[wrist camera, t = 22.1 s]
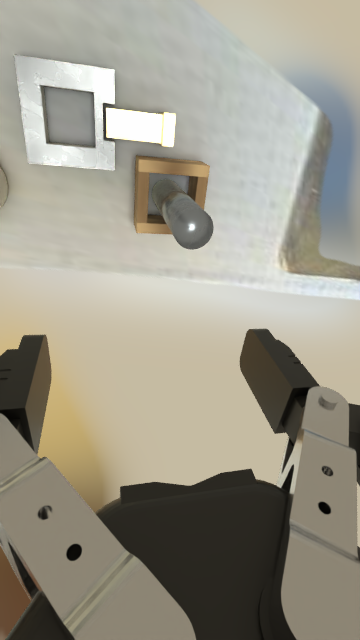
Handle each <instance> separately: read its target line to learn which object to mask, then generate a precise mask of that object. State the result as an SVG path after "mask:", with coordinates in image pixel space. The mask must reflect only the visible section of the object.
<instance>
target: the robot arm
mask: <svg viewBox="0 0 360 640" xmlns="http://www.w3.org/2000/svg"><path fill="white" fill-rule="evenodd" d="M240 368H241V372H242V374H243V375H244V377H245V379H246V381H247V383H248V385H249V387H250V388H251V390H252V392H253V394H254V396H255V398H256V399H257V401H258V403H259V405H260V407H261V409H262V411H263V413H264V414H265V416H266V418H267V420H268V422H269V424H270V426H271V428H272V429H273V431H274V433H275V434H276V433H285V432H286V433H287V434H288V436H289V437H288V439H287V442H286V446H285V450H284V455H283V459H282V464H281V468H280V473H279V477H278V481H277V485H274V484H271V483H268V482H265V481H261V480H256V479H255V476H254V474H253V472H252V469H246V470H239V471H232V472H224V473H220V474H218V475H216V476H213V477H211V478H209V479H206V480H204V481H202V482H200V483H197V484H195V485H192V486H185V485H176V484H168V483H160V482H151V483H144V484H136V485H129V486H122V487H120V498H119V499H116V500H114V501H112V502H111V503H109V504H107V505H105V506H104V507H102V508H101V509H99V510H98V511H97V512H96V513H94V512H93V511H92V509H91V508H90V507H89V506H88V505H87V503H86V502H85V501H84V500H83V499H82V498H81V496H80V495H79V494H78V493H77V491H76V490H75V489H74V488H73V487H72V485H71V484H70V483H69V482H68V481H67V480H66V478H65V477H64V476H63V475H62V474H61V472H60V471H59V470H58V469H57V468H56V466H55V465H54V464H53V463H52V462H51V461H50V460H49V459H48V458H47V457H43V458H42V459H41V458H39V457H38V456H37V453H38V447H39V443H40V437H41V432H42V427H43V421H44V416H45V411H46V405H47V400H48V395H49V390H50V384H51V363H50V356H49V349H48V342H47V337H46V335H24V336H23V337H22V340H21V343H20V345H19V348H18V349H12V350H7V351H6V352H4V353H3V354H2V355H1V356H0V546H1V547H2V549H3V551H4V553H5V554H6V556H7V558H8V560H9V562H10V564H11V566H12V568H13V570H14V572H15V574H16V576H17V577H18V579H19V581H20V583H21V584H22V586H23V588H24V589H25V591H26V593H27V595H28V596H29V598H30V600H31V603H30V604H29V605H28V607H27V608H26V610H25V612H24V613H23V614H22V616H21V617H20V619H19V620H18V622H17V623H16V625H15V626H14V627H13V629H12V630H11V632H10V633H9V635H8V636H7V638H6V639H5V640H360V548H359V547H358V546H357V482H358V484H359V485H360V405H355V404H348V403H347V401H346V400H345V398H344V397H343V396H342V395H340V394H339V393H338V392H336V391H334V390H332V389H329V388H326V387H321V386H319V384H318V383H317V382H316V381H315V379H314V378H313V377H312V376H311V374H310V373H309V372H308V371H307V369H306V368H305V367H304V365H303V364H301V362H300V360H299V359H298V358H297V357H295V354H294V353H293V352H292V350H291V349H290V348H289V347H288V346H286V345H285V344H284V343H282V342H281V341H279V340H276V339H275V338H274V337H273V335H272V334H271V333H270V332H269V330H268V329H249V330H248V331H247V333H246V337H245V341H244V345H243V349H242V352H241V356H240Z"/></svg>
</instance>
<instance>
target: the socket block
mask: <svg viewBox="0 0 360 640" xmlns="http://www.w3.org/2000/svg"><path fill="white" fill-rule="evenodd" d="M14 61H15V69H16V76H17V84H18V91H19V99H20V106H21V114H22V121H23V129H24V136H25V144H26V151H27V159H28V163H30V164H42V165H54V166H66V167H78V168H90V169H102V170H114V171H115V141H114V140H105V139H103V103H105V104H113V105H114V104H115V70H114V69H107V68H101V67H94V66H88V65H81V64H75V63H68V62H61V61H55V60H48V59H42V58H35V57H29V56H22V55H16V54H14ZM44 86H46V87H53V88H61V89H68V90H75V91H83V92H90V93H94V106H95V138H96V147H95V146H85V145H75V144H65V143H55V142H49V133H48V123H47V113H46V103H45V92H44Z"/></svg>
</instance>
